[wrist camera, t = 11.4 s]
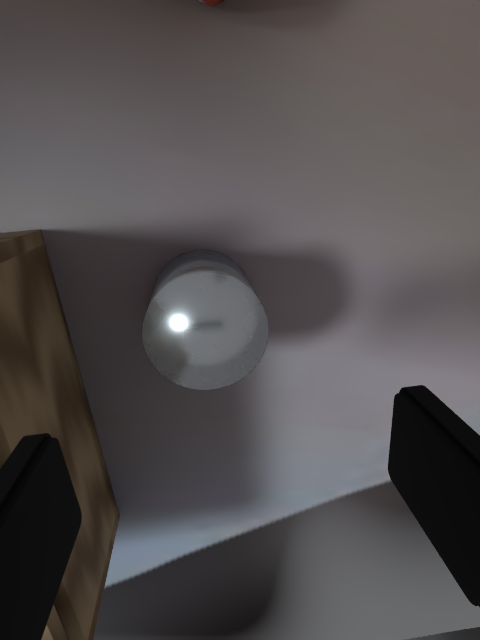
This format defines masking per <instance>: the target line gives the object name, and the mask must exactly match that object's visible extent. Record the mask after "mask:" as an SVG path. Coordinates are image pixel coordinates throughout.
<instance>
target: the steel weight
mask: <svg viewBox="0 0 480 640" xmlns="http://www.w3.org/2000/svg"><path fill="white" fill-rule="evenodd" d="M268 336H269V326H268V319H267V316H266V312H265V310H264V308H263V306H262V304H261V302H260V300H259V299H258V297H257V295H256V293H255V291H254V290H253V288H252V286H251V284H250V283H249V281H248V279H247V277H246V275H245V274H244V272H243V270H242V269H241V268H240V267H239V265H238V264H237V263H235V262H234V261H233V260H232V259H230V258H229V257H227V256H225V255H224V254H221V253H218V252H215V251H211V250H195V251H190V252H186V253H184V254H181V255H179V256H178V257H176V258H174V259H173V260H172V261H170V262H169V263H168V264H167V265H166V266H165V268H164V269H163V270H162V272H161V273H160V275H159V277H158V279H157V282H156V285H155V288H154V291H153V294H152V297H151V300H150V303H149V306H148V309H147V311H146V314H145V317H144V321H143V327H142V339H143V345H144V349H145V352H146V354H147V356H148V358H149V360H150V362H151V363H152V365H153V366H154V367H155V368H156V370H157V371H158V372H159V373H161V374H162V375H163V376H164V377H165V378H167V379H168V380H170V381H172V382H173V383H175V384H178V385H180V386H183V387H186V388H190V389H197V390H211V389H218V388H222V387H225V386H229V385H231V384H233V383H235V382H237V381H239V380H241V379H242V378H244V377H245V376H246V375H247V374H249V373H250V372H251V371H252V370H253V369H254V368H255V366H256V365H257V364H258V363H259V361H260V359H261V358H262V356H263V354H264V352H265V349H266V346H267V342H268Z"/></svg>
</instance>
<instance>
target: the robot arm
mask: <svg viewBox="0 0 480 640" xmlns="http://www.w3.org/2000/svg"><path fill="white" fill-rule="evenodd" d="M388 472H389V476H390V478H391V480H392V482H393V484H394V485H395V486H396V488H397V490H398V491H399V493H400V494H401V496H402V498H403V499H404V501H405V502H406V504H407V505H408V507H409V508H410V510H411V512H412V513H413V515H414V516H415V518H416V519H417V521H418V522H419V524H420V526H421V527H422V528H423V530H424V532H425V533H426V535H427V536H428V538H429V540H430V541H431V543H432V544H433V546H434V547H435V549H436V550H437V552H438V553H439V555H440V557H441V558H442V559H443V561H444V563H445V564H446V566H447V567H448V569H449V571H450V572H451V574H452V575H453V577H454V578H455V580H456V582H457V583H458V585H459V586H460V588H461V589H462V591H463V592H464V594H465V595H466V597H467V598H468V600H469V601H470V602H471V603H472V604H473V605H475V606H479V607H480V435H478V434H477V433H476V432H475V431H474V430H473V429H472V428H471V427H470V426H468V425H467V424H466V423H465V422H464V421H463V420H462V419H461V418H460V417H459V416H457V415H456V414H455V413H454V412H453V411H452V410H451V409H450V408H449V407H447V406H446V405H445V404H444V403H443V402H442V401H441V400H440V399H439V398H438V397H436V396H435V395H434V394H433V393H432V392H431V391H430V390H429V389H428V388H426V387H425V386H423V385H419V386H411V387H403V388H401V390H400V392H399V393H397V394H396V395H395V397H394V406H393V417H392V428H391V439H390V450H389V461H388ZM81 521H82V513H81V509H80V505H79V502H78V499H77V496H76V493H75V490H74V487H73V484H72V481H71V478H70V474H69V471H68V468H67V465H66V462H65V459H64V456H63V453H62V450H61V446H60V443H59V441H58V439H57V438H52V437H51V435H50V434H49V433H43V434H35V435H27V436H24V437H23V438H22V439H21V440H20V441H19V443H18V444H17V446H16V447H15V449H14V450H13V451H12V453H11V454H10V456H9V457H8V459H7V460H6V461H5V463H4V464H3V466H2V467H1V469H0V640H41V639H42V636H43V633H44V630H45V628H46V625H47V622H48V619H49V616H50V613H51V610H52V607H53V604H54V602H55V599H56V596H57V593H58V590H59V587H60V584H61V581H62V578H63V576H64V573H65V570H66V567H67V564H68V561H69V558H70V555H71V552H72V550H73V547H74V544H75V541H76V538H77V535H78V532H79V529H80V526H81ZM405 640H480V627H477V628H470V629H464V630H458V631H453V632H446V633H440V634H435V635H428V636H423V637H417V638H411V639H405Z"/></svg>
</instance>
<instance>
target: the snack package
mask: <svg viewBox="0 0 480 640" xmlns="http://www.w3.org/2000/svg"><path fill="white" fill-rule="evenodd" d="M198 1H199V2H201V3H203V4H206V5H208V6H214V5H216V4H219V3H221V2H223V1H224V0H198Z"/></svg>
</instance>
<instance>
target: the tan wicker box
mask: <svg viewBox="0 0 480 640" xmlns="http://www.w3.org/2000/svg"><path fill="white" fill-rule="evenodd" d="M43 433H49V434H50V435H51V437H52V438H57V439H58V441H59V443H60V446H61V450H62V453H63V456H64V459H65V462H66V465H67V468H68V471H69V474H70V478H71V481H72V484H73V487H74V490H75V493H76V496H77V499H78V502H79V505H80V509H81V513H82V521H81V526H80V529H79V532H78V535H77V538H76V541H75V544H74V547H73V550H72V552H71V555H70V558H69V561H68V564H67V567H66V570H65V573H64V576H63V578H62V581H61V584H60V587H59V590H58V593H57V596H56V599H55V602H54V606H55V609H56V611H57V614H58V616H59V618H60V621H61V623H62V625H63V628H64V630H65V632H66V635H67V637H68V640H93V638H94V633H95V628H96V623H97V619H98V614H99V609H100V605H101V600H102V595H103V591H104V586H105V582H106V577H107V572H108V568H109V563H110V558H111V554H112V549H113V544H114V540H115V535H116V530H117V526H118V521H119V512H118V509H117V505H116V501H115V498H114V494H113V491H112V487H111V483H110V480H109V476H108V472H107V469H106V465H105V462H104V458H103V454H102V451H101V447H100V444H99V440H98V436H97V433H96V429H95V425H94V422H93V418H92V415H91V411H90V407H89V404H88V400H87V396H86V393H85V389H84V386H83V382H82V378H81V375H80V371H79V368H78V364H77V360H76V357H75V353H74V349H73V346H72V342H71V339H70V335H69V331H68V328H67V324H66V320H65V317H64V313H63V310H62V306H61V302H60V299H59V295H58V292H57V288H56V284H55V281H54V277H53V273H52V270H51V266H50V263H49V259H48V255H47V252H46V248H45V244H44V241H43V237H42V234H41V230H30V231H20V232H9V233H0V469H1V467H2V466H3V464H4V463H5V461H6V460H7V459H8V457H9V456H10V454H11V453H12V451H13V450H14V449H15V447H16V446H17V444H18V443H19V441H20V440H21V439H22V438H23V437H24V436H27V435H35V434H43Z"/></svg>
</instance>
